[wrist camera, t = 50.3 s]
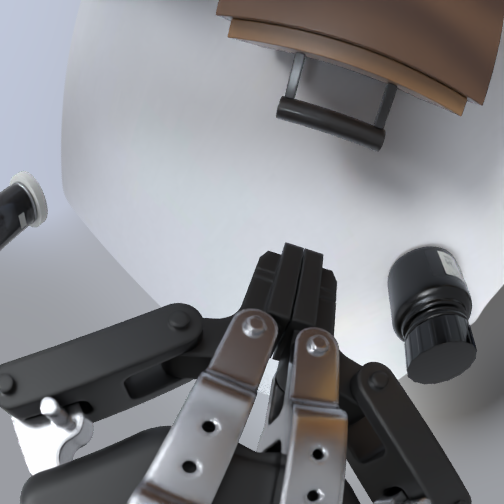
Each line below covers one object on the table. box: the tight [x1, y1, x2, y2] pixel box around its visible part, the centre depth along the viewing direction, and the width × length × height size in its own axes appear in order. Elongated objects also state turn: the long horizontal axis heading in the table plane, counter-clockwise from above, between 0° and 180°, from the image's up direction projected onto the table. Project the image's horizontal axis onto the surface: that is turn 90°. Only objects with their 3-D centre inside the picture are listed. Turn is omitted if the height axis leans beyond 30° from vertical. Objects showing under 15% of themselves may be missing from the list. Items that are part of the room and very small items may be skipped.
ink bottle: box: [388, 247, 477, 384], centre depth 24 cm, size 10×9×12 cm
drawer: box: [228, 19, 467, 152], centre depth 12 cm, size 19×13×9 cm
